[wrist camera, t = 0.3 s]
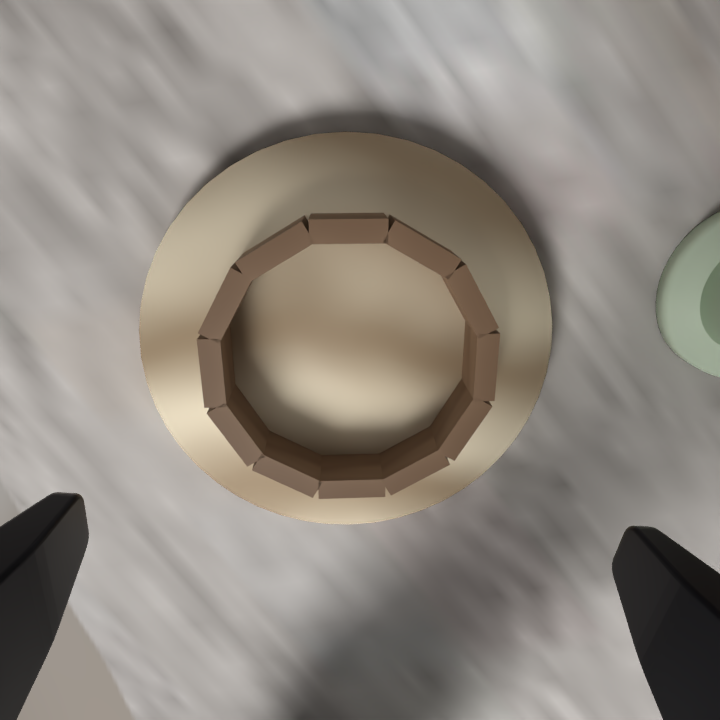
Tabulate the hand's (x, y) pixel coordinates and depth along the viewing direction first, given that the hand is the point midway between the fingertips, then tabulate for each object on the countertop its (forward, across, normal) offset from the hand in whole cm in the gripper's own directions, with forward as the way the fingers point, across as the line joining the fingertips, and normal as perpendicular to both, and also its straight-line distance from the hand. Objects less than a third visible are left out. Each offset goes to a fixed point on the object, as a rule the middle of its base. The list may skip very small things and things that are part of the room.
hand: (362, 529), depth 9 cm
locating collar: (+14, 0, +3) cm, 14 cm away
